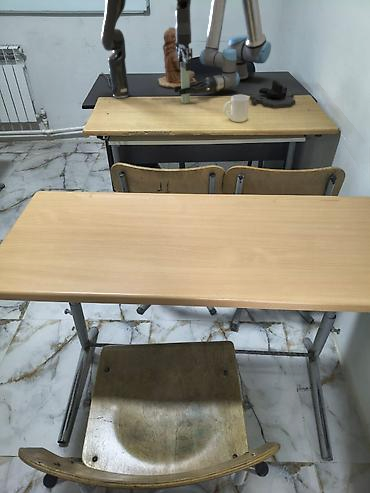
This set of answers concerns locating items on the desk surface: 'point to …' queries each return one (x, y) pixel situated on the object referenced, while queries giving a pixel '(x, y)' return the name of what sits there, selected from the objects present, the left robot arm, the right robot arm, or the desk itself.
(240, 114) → the mug
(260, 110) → the desk surface
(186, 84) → the bottle
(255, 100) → the abstract sculpture
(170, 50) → the sculpture
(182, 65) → the lid
